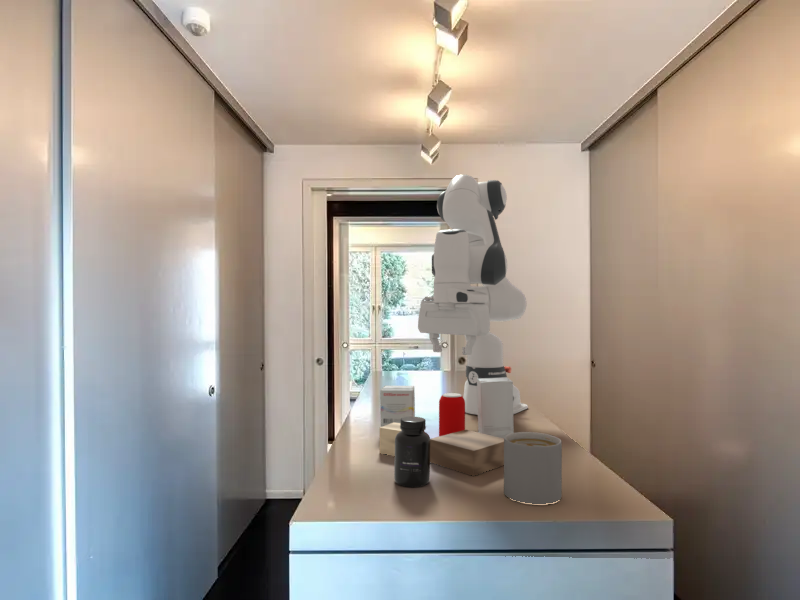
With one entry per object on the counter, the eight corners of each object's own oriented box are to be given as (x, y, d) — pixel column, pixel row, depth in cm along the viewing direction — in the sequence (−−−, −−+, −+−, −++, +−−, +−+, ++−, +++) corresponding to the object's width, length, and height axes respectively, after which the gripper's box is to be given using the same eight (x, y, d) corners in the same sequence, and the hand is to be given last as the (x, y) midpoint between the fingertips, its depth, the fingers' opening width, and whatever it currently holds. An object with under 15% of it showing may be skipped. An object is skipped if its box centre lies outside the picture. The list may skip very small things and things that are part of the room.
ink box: (415, 428, 142) (415, 384, 142) (413, 436, 133) (413, 389, 133) (384, 427, 143) (384, 384, 143) (379, 435, 134) (379, 389, 134)
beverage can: (466, 448, 122) (466, 397, 122) (439, 448, 122) (439, 396, 122) (463, 441, 128) (463, 392, 128) (438, 441, 129) (438, 392, 129)
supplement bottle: (404, 490, 95) (404, 424, 95) (388, 479, 101) (388, 417, 101) (437, 484, 98) (437, 420, 98) (419, 473, 104) (419, 413, 104)
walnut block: (465, 451, 120) (465, 429, 120) (509, 463, 111) (509, 439, 111) (429, 462, 112) (429, 438, 112) (473, 476, 103) (473, 450, 103)
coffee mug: (571, 505, 88) (571, 445, 88) (513, 507, 88) (513, 447, 88) (542, 478, 102) (542, 426, 102) (492, 479, 101) (492, 427, 101)
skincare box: (508, 434, 135) (508, 376, 135) (514, 440, 129) (514, 380, 129) (476, 434, 135) (476, 376, 135) (480, 440, 129) (480, 380, 129)
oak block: (393, 447, 123) (393, 422, 123) (415, 451, 120) (415, 425, 120) (379, 454, 118) (379, 427, 118) (402, 458, 115) (402, 431, 115)
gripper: (412, 296, 131) (412, 351, 131) (476, 295, 116) (476, 357, 116) (429, 296, 135) (429, 349, 135) (493, 295, 120) (494, 355, 120)
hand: (451, 353), depth 125 cm, fingers open, 8 cm apart
